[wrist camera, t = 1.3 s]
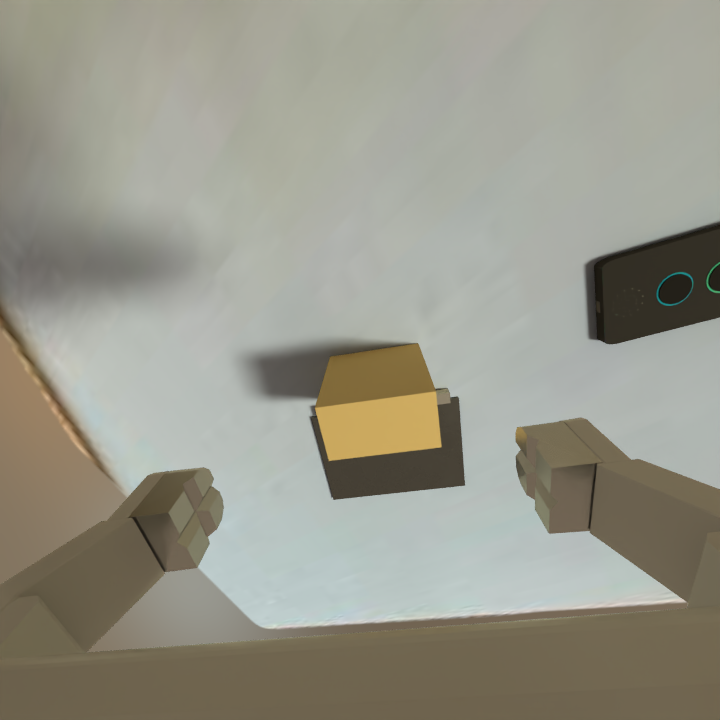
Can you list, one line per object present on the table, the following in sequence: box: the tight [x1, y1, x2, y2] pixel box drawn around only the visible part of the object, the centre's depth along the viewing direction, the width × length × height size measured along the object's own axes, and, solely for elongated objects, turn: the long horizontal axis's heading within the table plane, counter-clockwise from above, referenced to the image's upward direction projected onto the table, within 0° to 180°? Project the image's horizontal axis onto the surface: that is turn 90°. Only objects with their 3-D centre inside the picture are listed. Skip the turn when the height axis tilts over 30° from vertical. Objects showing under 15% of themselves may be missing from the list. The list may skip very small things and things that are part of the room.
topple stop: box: [311, 388, 465, 500], centre depth 38 cm, size 13×16×1 cm
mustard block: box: [315, 343, 441, 461], centre depth 30 cm, size 5×9×10 cm, turn 100°
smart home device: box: [594, 225, 720, 344], centre depth 29 cm, size 8×2×20 cm
